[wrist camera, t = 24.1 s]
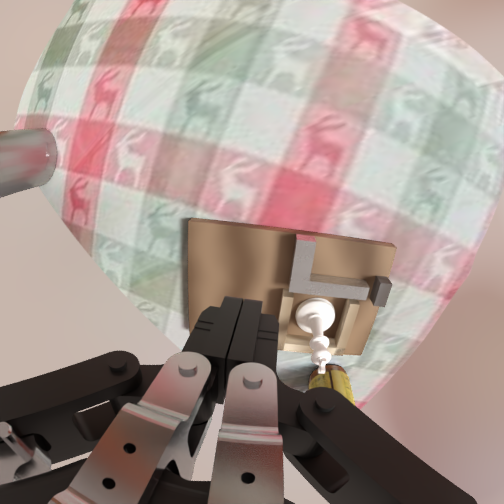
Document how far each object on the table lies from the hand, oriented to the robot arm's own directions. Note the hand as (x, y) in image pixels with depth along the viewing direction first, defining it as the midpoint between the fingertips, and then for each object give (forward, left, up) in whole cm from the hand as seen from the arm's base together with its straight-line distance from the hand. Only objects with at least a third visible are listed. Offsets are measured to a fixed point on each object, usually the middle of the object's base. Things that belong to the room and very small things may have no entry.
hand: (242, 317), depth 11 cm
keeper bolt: (+8, -5, -19) cm, 21 cm away
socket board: (+3, -10, -21) cm, 23 cm away
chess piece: (+7, -12, -20) cm, 24 cm away
